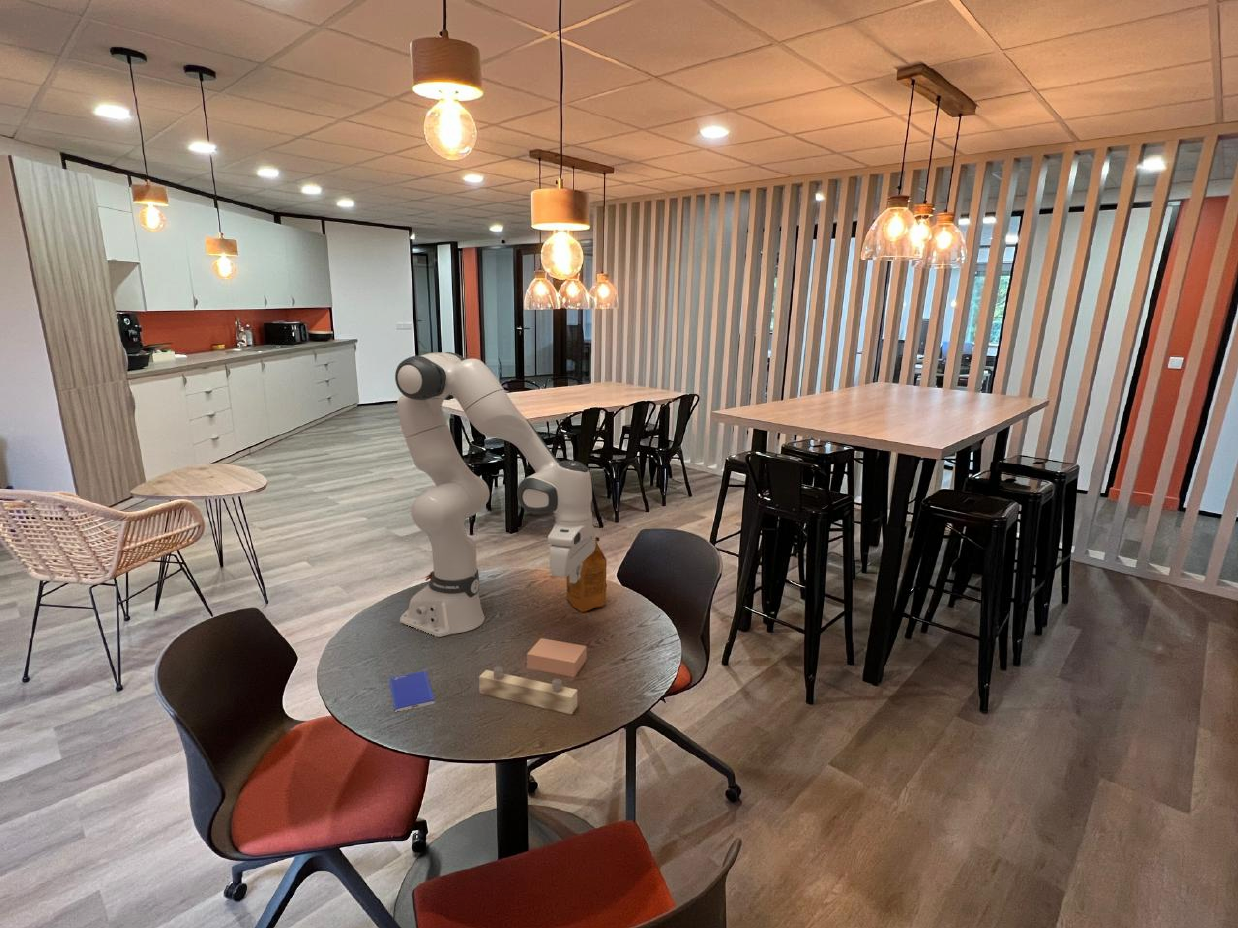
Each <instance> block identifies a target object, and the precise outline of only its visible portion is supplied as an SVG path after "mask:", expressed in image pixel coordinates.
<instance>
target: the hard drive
mask: <svg viewBox="0 0 1238 928" xmlns="http://www.w3.org/2000/svg"><path fill="white" fill-rule="evenodd" d="M388 683H390V684H389V689H391V690H390V694H392V695H391V700H392V706H393V705H394V706H393V710H395V711H394V713H395V712H397V711H401V712H404V711H403V710H405V711H409V710H412V708H414V709H417V708H422V707H427V706H430V705H434V704H435V705H436V701H435V697H434V694H433V690H432V687H431V683H430V679H429V676H428V673H427V670H420V671H417V672H411V673H406V674H402V675H396V676H392V677H390V678H388ZM408 709H409V710H408ZM397 713H398V712H397Z"/></svg>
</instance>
